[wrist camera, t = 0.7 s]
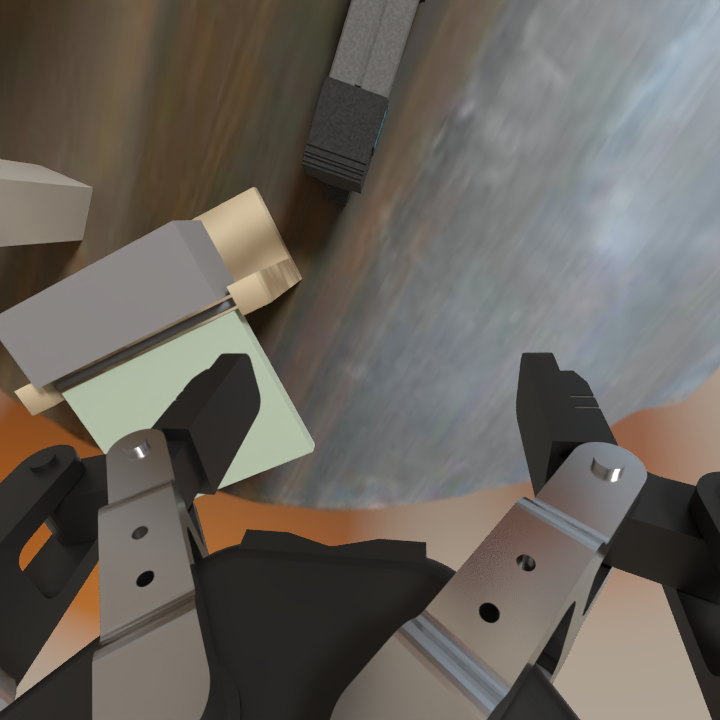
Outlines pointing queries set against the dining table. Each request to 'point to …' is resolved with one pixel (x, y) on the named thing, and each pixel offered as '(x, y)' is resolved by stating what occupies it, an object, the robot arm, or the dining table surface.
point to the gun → (357, 95)
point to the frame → (244, 262)
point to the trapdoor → (149, 343)
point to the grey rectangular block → (40, 205)
